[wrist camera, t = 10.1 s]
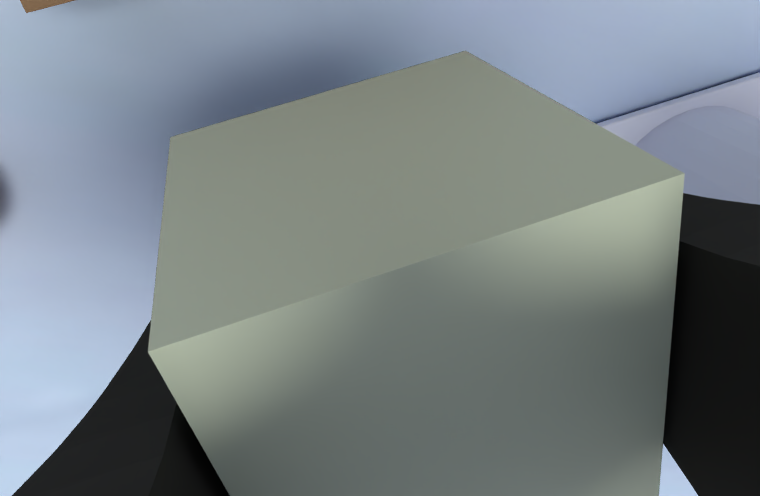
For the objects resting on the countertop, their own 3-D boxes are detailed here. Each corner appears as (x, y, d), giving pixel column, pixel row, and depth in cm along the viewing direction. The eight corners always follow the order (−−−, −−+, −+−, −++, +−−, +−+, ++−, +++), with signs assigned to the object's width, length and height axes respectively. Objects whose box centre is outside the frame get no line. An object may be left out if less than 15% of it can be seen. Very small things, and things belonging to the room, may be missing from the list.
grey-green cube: (494, 285, 14) (658, 496, 9) (267, 363, 14) (309, 634, 9) (465, 50, 11) (684, 173, 6) (170, 136, 11) (148, 351, 6)
